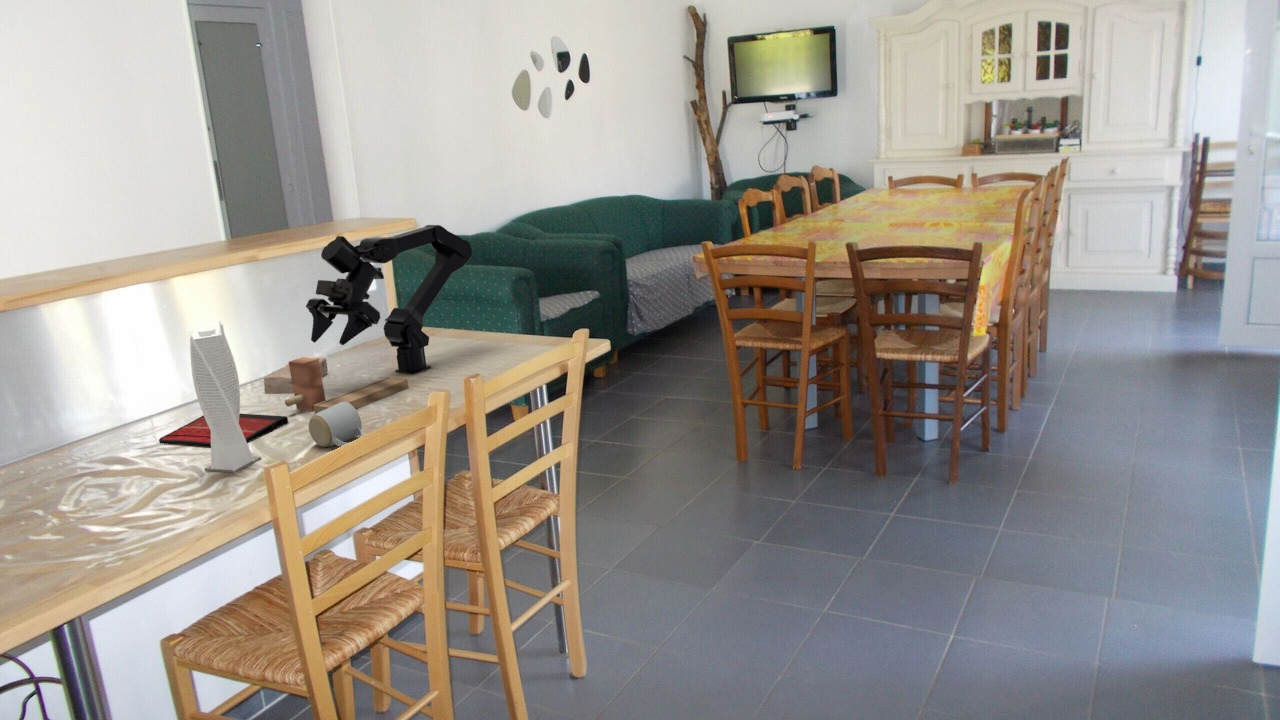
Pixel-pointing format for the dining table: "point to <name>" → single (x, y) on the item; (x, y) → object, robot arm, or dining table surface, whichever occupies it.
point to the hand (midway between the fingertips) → (326, 342)
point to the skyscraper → (219, 399)
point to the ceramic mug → (335, 425)
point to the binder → (201, 432)
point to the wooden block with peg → (306, 383)
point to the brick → (286, 379)
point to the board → (366, 393)
